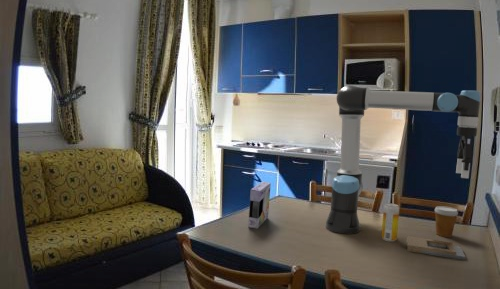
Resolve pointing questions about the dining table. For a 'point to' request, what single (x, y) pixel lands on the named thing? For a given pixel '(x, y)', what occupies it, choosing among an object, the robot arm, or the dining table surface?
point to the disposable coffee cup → (445, 220)
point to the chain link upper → (421, 244)
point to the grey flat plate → (458, 254)
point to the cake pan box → (259, 204)
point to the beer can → (390, 222)
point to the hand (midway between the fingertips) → (462, 175)
